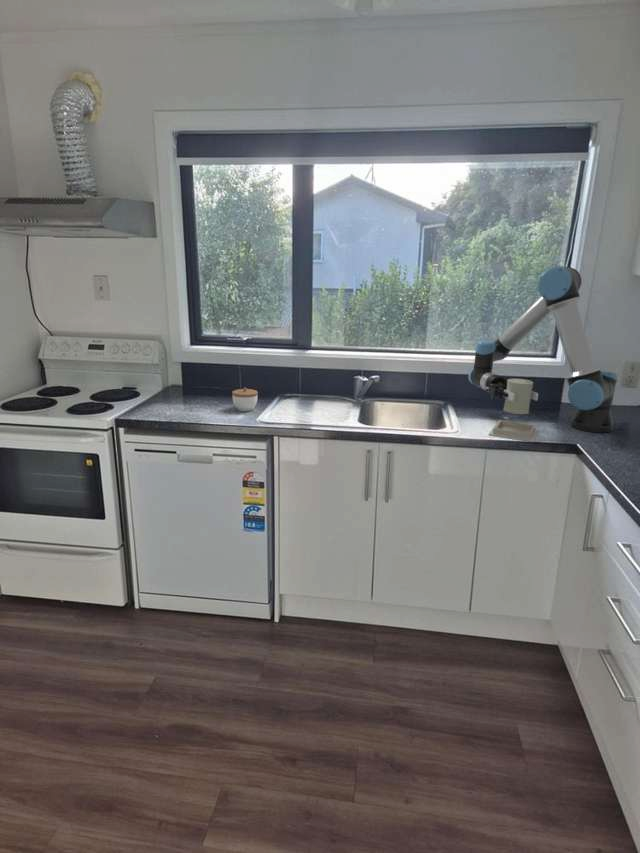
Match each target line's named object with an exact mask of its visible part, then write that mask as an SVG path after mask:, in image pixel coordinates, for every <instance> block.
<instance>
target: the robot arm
mask: <svg viewBox="0 0 640 853" xmlns="http://www.w3.org/2000/svg"><path fill="white" fill-rule="evenodd" d="M582 282H583V281H582V276H581V273H580V272H579V271H578V270H577V269H576V268H574V267H571V266H560V265H559V266H558V265H557V266H552V267H550V268H548V269H546V270H544V271H542V273H541V274H540V276H539V278H538V280H537V285H536V288H537V291H538V294H539V296H540V297H539V298H537V299H536V301H534V302H533V303H532V305H530V306H529V307H528V308H527V309H526V310H525V311H524V312H523V313H522V314H521V315H520V316H519V317H518V318H517V319H516V320H515V321H514V322H513V323H512V324H511V325H510V326H509V327H508V328H507V329H506V330H504V332H503V333H502V334H501V335H500V336H499V337H498V338H497V339H496V340H495V341H493V340H492V341H491V340H479V341H477V342H476V347H475V353H474V354H475V355H474V363H473V368H472V369H471V370H470V371H469V373H468V377H467V378H468V381H469V382H470V383H471V385H474V386H475V387H477V388H480V389H482V390H484V391H486V392H487V393H490V394H491V395H493V397H498V398H499V399H503V398H506V399H509V400H511V401H514V400H515V394H514V393H512V392H510V391H507V382H508V381H507V380H506V379H505V378H504V377H503V376H501V375H498V374H496V373H494V372H493V367H494V366H493V365H494V362H497V361H503V360H505V359H506V358H508V356H509V354H510V352H511V351H512V350H513V349H514V348H515V347H516V346H517V345H519V343H521V342H522V341H523V339H525V338H526V337H527V336H528V335H529V334H530V333H531V332H532V331H533V330H534V329H535V328H536V327H538V326H539V325H540V324H541V323H542V322H543V321H544V320H545V319H546V318H547V317H548V316H550V314H552V315H553V317H554V321H555V325H556V328H557V332H558V336H559V339H560V342H561V347H562V351H563V353H564V357H565V360H566V365H567V368H568V371H569V373H568V375H567V376H566V380H567V385H568V390H567V398H568V401H569V402H570V404H571V405H572V406H573V407H574V408H576V411H575V413H574V414H573V415H572V418H571V420H570V426H571V427H573V428H575V429H578V430H580V431H585V432H590V433H591V432H592V433H603V434H604V433H605V434H606V433H610V432H612V431H613V429H614V421H613V420H614V419H613V416H612V415H613V414H612V408H613V407H612V406H613V401H614V396H615V392H616V386H617V382H618V379H617V378H618V375H617V373H616V372H614V371H613V372H612V371H606V370H601V369H600V368H599V367H598V366H595V363H594V360H593V357H592V352H591V349H590V346H589V341H588V338H587V335H586V331H585V328H584V325H583V321H582V318H581V313H580V310H579V306H578V301H580V298H581V296H580V293H579V290H580V289H581V286H582ZM538 398H539V393H538V392H535V391H534V388H532V393H531V399H530V400H534V401H538Z"/></svg>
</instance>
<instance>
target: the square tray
mask: <svg viewBox="0 0 640 853" xmlns="http://www.w3.org/2000/svg"><path fill="white" fill-rule="evenodd" d="M536 427H537V425H536V424H530V423H523V422H516V421H509V420H502V419H499V420H498V421H497V423H495V425H494V426H493V427H492V429H491V430H490V432H489V433H488V436H490V437H491V436H492V437H497V438H504V439H510V438H511V439H510V440H516V439H517V440H518V441H522V440H524V442H530V443H535V440H536V438H537V436H538V433H539V432H540V431H539V429H536ZM517 440H516V441H517Z"/></svg>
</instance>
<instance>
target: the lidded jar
mask: <svg viewBox="0 0 640 853" xmlns="http://www.w3.org/2000/svg"><path fill="white" fill-rule="evenodd" d="M231 393H232V394H231V395H232V402H233V405H234V406H235V408H236V409H237V410H238V411H239V412H251V411H253V409H254V408H255V407H256V405H257V403H258V394H259V392H258V390H256V389H251V388H247V387H243V388H240V389H235V390H232V392H231Z"/></svg>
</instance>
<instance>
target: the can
mask: <svg viewBox="0 0 640 853" xmlns="http://www.w3.org/2000/svg"><path fill="white" fill-rule="evenodd" d="M506 382H507V391H510V392H512V393H514V394H515V400H514V401H511V400H509V399H506V398H505V399H504V404H503V411H504V412H505V413H509V414H515V415H527V414H529V413H530V405H531V400H532V399H531V393H532V389H533V386H534V382H533V381H531V380H529V379H523V378H508V379H507V380H506Z"/></svg>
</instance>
